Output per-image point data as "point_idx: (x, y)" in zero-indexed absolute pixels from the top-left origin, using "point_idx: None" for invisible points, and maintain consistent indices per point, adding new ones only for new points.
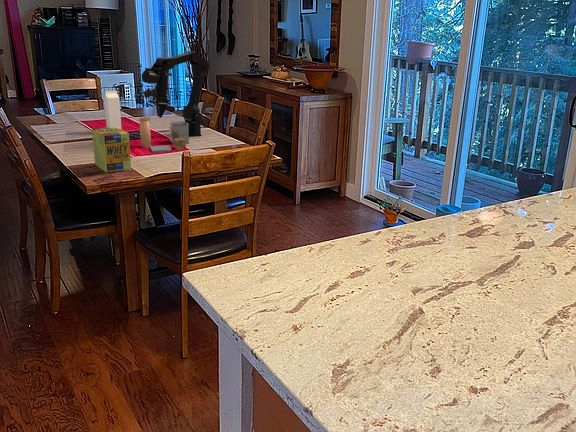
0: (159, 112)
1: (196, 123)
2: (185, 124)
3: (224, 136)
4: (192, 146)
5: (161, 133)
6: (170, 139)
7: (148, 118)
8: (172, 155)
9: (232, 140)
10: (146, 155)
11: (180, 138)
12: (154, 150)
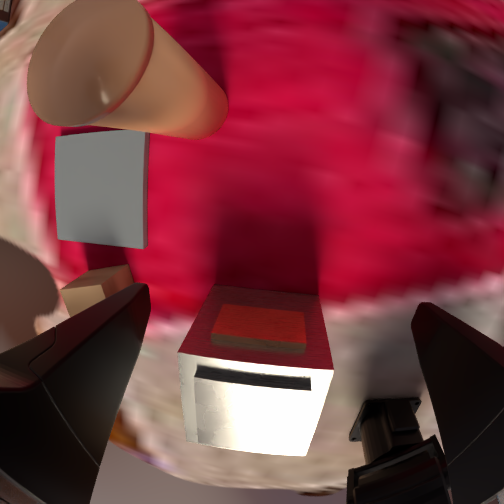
0: (81, 323)
1: (349, 476)
2: (198, 437)
3: (301, 483)
4: (144, 356)
5: (498, 283)
6: (315, 298)
7: (43, 110)
8: (15, 224)
9: (227, 482)
10: (30, 110)
11: None
12: (57, 149)
